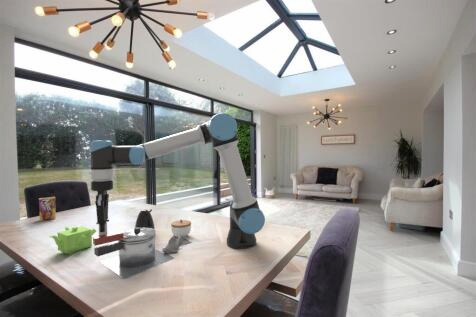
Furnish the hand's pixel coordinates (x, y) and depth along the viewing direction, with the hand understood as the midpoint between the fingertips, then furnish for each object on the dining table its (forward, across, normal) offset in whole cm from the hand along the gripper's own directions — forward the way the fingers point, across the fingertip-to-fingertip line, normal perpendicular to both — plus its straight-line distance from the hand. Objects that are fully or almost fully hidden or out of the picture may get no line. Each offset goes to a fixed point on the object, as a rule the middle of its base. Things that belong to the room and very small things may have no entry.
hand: (103, 239), depth 96 cm
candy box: (+14, -95, -52) cm, 109 cm away
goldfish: (+13, -12, +30) cm, 35 cm away
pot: (+11, 0, +9) cm, 14 cm away
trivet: (+12, -2, +12) cm, 17 cm away
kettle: (+13, -25, -17) cm, 33 cm away
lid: (+1, -1, +8) cm, 8 cm away
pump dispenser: (+13, -34, +14) cm, 39 cm away
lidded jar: (+13, -28, +33) cm, 45 cm away
